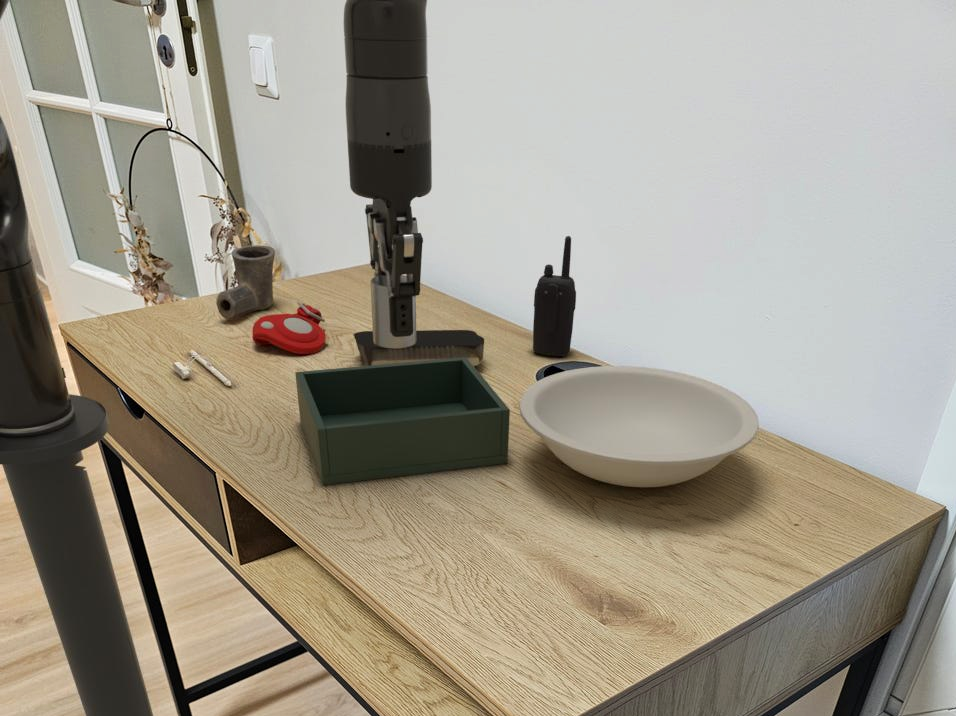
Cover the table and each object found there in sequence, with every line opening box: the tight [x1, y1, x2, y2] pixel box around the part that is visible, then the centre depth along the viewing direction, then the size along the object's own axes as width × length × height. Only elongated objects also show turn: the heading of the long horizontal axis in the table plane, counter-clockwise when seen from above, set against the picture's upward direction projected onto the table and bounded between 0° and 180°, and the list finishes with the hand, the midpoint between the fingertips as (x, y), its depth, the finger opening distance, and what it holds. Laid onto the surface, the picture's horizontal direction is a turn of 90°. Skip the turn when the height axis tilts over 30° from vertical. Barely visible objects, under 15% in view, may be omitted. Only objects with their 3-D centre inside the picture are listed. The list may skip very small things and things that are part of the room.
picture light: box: [172, 349, 232, 387], centre depth 111 cm, size 14×4×2 cm, turn 34°
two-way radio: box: [532, 235, 577, 358], centre depth 116 cm, size 6×4×15 cm
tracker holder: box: [251, 300, 327, 355], centre depth 121 cm, size 12×4×10 cm
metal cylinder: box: [370, 274, 417, 349], centre depth 88 cm, size 4×4×6 cm
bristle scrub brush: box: [353, 329, 485, 367], centre depth 115 cm, size 16×8×4 cm, turn 98°
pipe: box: [215, 244, 276, 320], centre depth 130 cm, size 6×13×8 cm, turn 162°
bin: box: [295, 357, 511, 486], centre depth 95 cm, size 20×16×6 cm
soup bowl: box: [518, 365, 760, 488], centre depth 91 cm, size 24×24×7 cm
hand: (396, 326), depth 89 cm, fingers closed on metal cylinder, 4 cm apart
